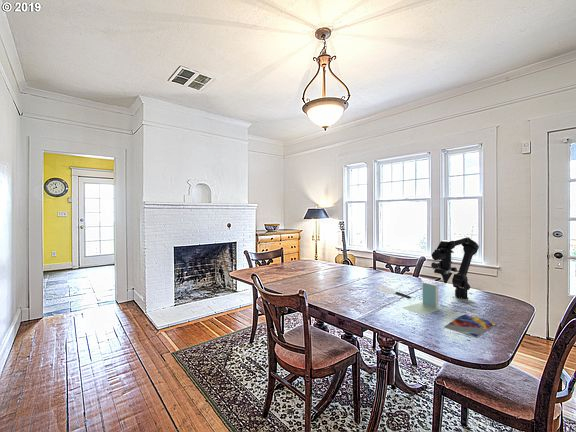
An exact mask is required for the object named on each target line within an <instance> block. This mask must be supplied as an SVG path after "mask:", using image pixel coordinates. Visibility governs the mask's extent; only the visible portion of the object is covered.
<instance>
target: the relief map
mask: <svg viewBox="0 0 576 432" xmlns="http://www.w3.org/2000/svg"><path fill="white" fill-rule="evenodd" d="M497 324H498V323H497V322H495V321H490V320H488V319H484V318H482V317H477V316H471V315H467V314H463V315H460V316H458V317H455V318H454V319H453V320H451V321H450V322H449V323H448V324H446V325H444V326H443V328H445V329H448V330H451V331H455V332H458V333H461V334H463V335H466V336H470V337H473V338H476V339H477V338H479V337H481V336H482V335H484V334H485V333H487V332H488V331H489V330H491V329H492V328H493V327H495V326H496V325H497Z"/></svg>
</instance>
